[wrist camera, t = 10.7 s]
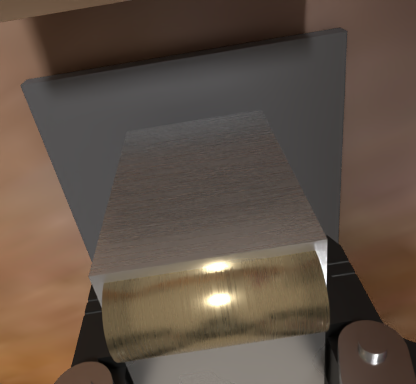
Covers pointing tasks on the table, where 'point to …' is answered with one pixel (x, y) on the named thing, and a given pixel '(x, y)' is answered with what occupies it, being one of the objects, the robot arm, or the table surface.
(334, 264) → the robot arm
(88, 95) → the rubber mat
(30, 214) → the table surface
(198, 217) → the lever cap
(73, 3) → the brown flat block
